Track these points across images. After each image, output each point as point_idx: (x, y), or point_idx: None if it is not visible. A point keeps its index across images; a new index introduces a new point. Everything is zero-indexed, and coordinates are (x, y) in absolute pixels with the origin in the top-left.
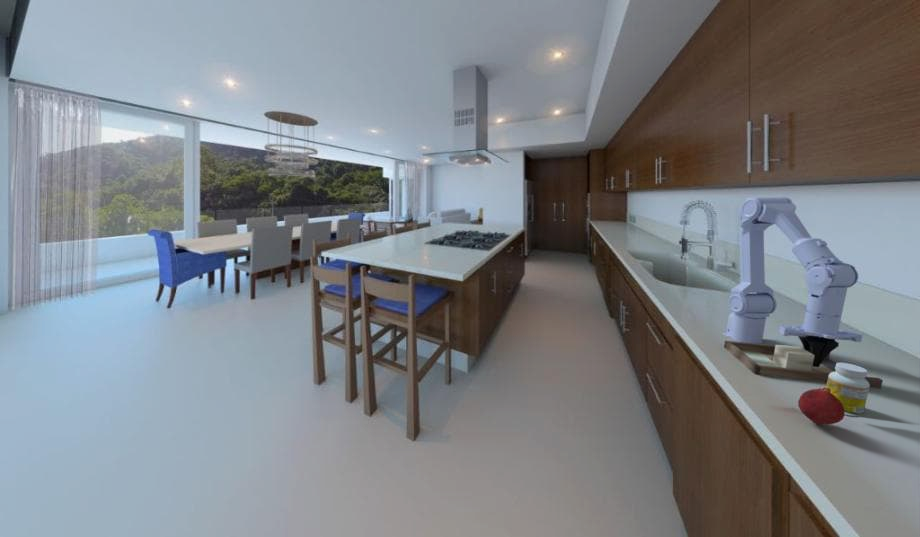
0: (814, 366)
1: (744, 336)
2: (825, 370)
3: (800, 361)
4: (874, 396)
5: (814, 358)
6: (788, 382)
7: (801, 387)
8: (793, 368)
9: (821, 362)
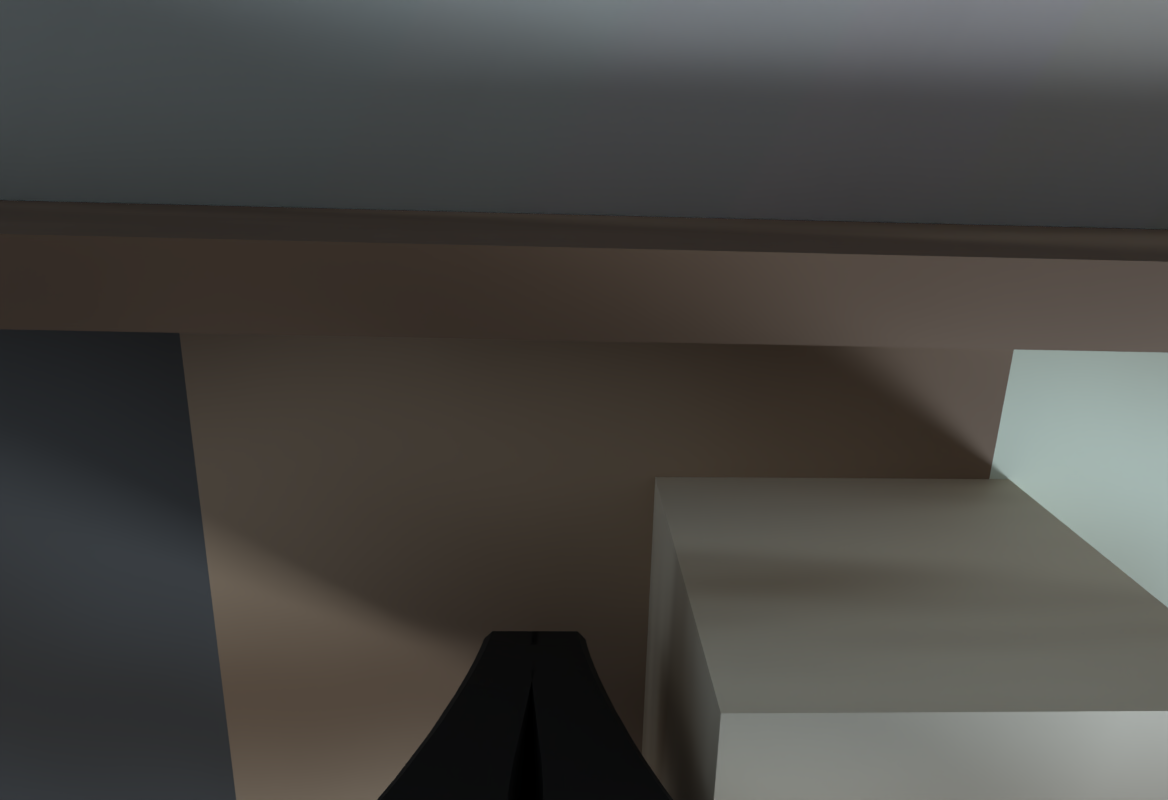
0: (552, 634)
1: None
2: (326, 678)
3: (908, 594)
4: (51, 16)
5: (613, 720)
6: (1105, 197)
7: (1028, 51)
8: (930, 512)
9: (471, 674)
